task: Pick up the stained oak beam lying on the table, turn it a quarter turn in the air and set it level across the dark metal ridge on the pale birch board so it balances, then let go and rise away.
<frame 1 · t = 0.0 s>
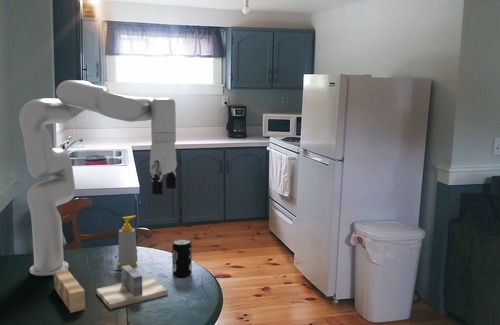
hand: (164, 191, 147), 31 cm above the table, tool pointing down, fingers open, 9 cm apart
ridge stand: (132, 294, 144), on the table
soap bottle: (128, 264, 169), on the table
oak beam: (69, 299, 141), on the table
beverage can: (182, 275, 160), on the table
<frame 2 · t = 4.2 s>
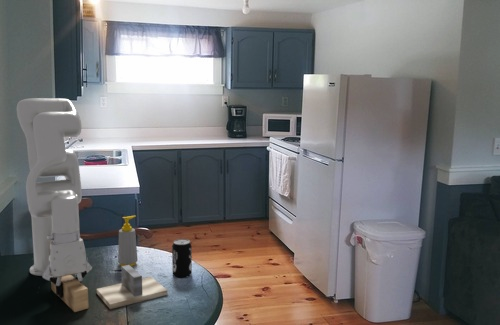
hand: (69, 294, 140), 1 cm above the table, tool pointing down, fingers closed on oak beam, 4 cm apart
oak beam: (69, 298, 140), on the table, touching gripper
everything else where it was.
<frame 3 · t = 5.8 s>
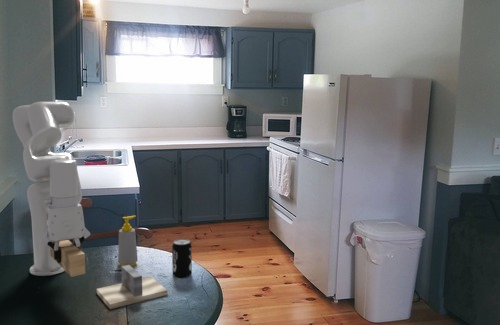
hand: (66, 259, 139), 12 cm above the table, tool pointing down, fingers closed on oak beam, 4 cm apart
oak beam: (67, 264, 140), point 11 cm above the table, touching gripper
everything else where it was.
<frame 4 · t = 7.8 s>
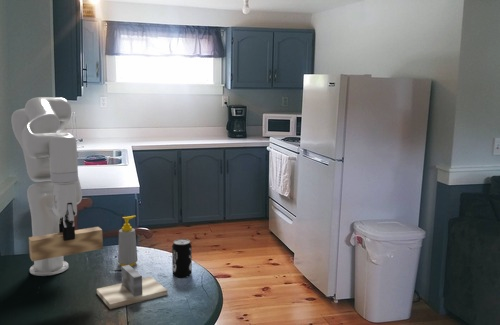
hand: (67, 237, 138), 19 cm above the table, tool pointing down, fingers closed on oak beam, 4 cm apart
oak beam: (67, 252, 138), point 14 cm above the table, touching gripper
everything else where it was.
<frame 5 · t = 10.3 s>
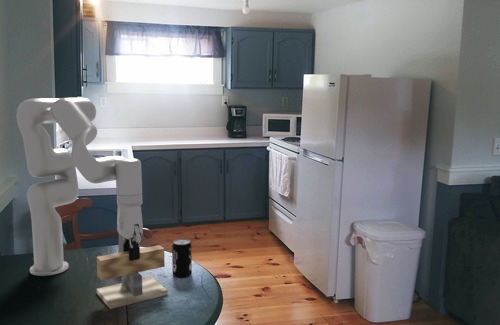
hand: (131, 256, 142), 12 cm above the table, tool pointing down, fingers closed on oak beam, 4 cm apart
oak beam: (131, 271, 143), point 8 cm above the table, touching gripper, ridge stand
everything else where it was.
when the fingers open (10 cm above the table, at t = 11.8 s): oak beam stays where it is, resting on ridge stand.
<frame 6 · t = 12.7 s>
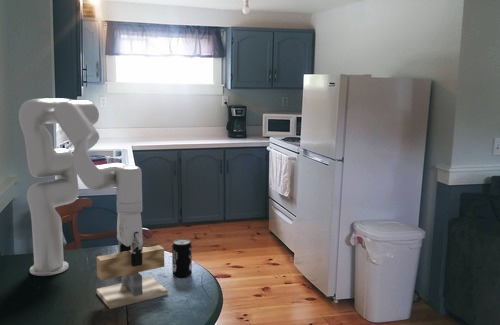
hand: (131, 260, 142), 11 cm above the table, tool pointing down, fingers open, 9 cm apart
oak beam: (131, 271, 143), point 7 cm above the table, touching ridge stand
everything else where it was.
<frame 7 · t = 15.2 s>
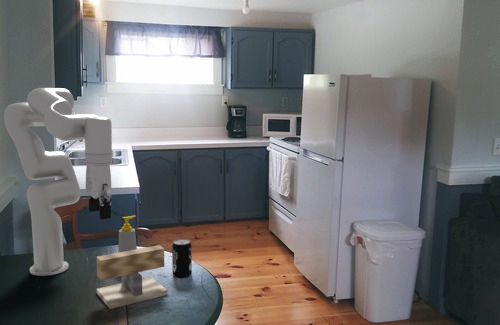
hand: (99, 214, 139), 26 cm above the table, tool pointing down, fingers open, 9 cm apart
nothing on the table moved.
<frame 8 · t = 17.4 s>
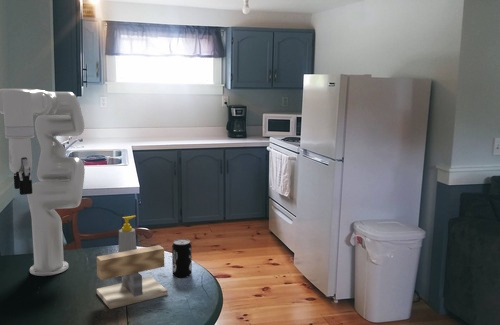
hand: (23, 191, 135), 33 cm above the table, tool pointing down, fingers open, 9 cm apart
nothing on the table moved.
at the end: oak beam 0.2 cm off-centre on the ridge stand, point 7.5 cm above the ridge stand's base; oak beam tilted 0°; the gripper is holding nothing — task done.
